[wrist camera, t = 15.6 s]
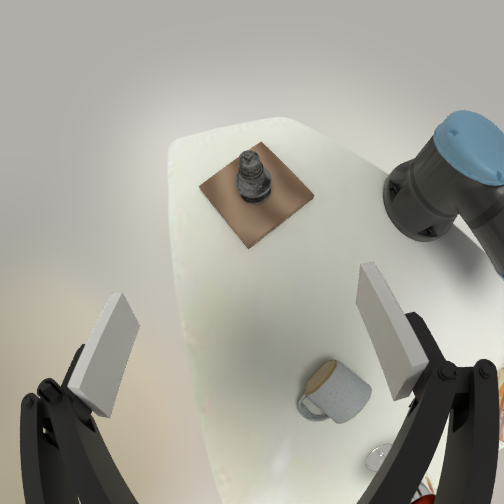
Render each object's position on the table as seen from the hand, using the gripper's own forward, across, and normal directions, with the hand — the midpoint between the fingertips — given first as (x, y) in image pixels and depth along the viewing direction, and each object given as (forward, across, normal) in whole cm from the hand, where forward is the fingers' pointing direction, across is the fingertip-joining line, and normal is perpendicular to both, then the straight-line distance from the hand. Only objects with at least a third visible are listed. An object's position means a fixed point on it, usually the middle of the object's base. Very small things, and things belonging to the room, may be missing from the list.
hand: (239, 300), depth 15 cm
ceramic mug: (+11, +9, -32) cm, 35 cm away
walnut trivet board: (+35, +1, -7) cm, 35 cm away
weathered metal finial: (+34, +1, -6) cm, 34 cm away
